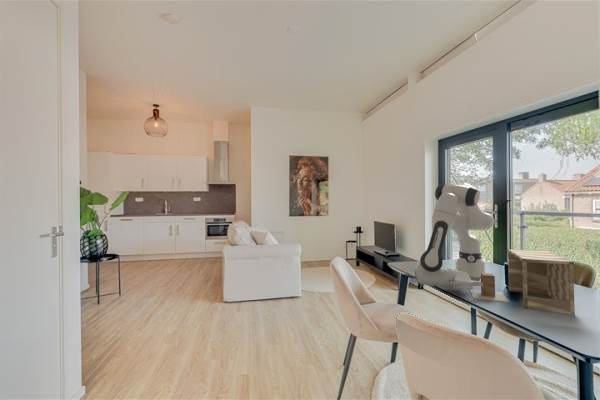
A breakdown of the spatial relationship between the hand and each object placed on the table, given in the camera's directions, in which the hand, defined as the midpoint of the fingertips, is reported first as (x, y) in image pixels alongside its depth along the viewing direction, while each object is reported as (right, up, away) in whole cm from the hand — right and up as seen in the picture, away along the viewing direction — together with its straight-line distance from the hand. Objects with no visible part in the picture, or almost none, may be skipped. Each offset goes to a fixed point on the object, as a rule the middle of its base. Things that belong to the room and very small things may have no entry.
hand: (481, 281), depth 136 cm
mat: (+3, -7, -1) cm, 7 cm away
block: (+3, -6, -1) cm, 7 cm away
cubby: (+20, -6, -9) cm, 23 cm away
